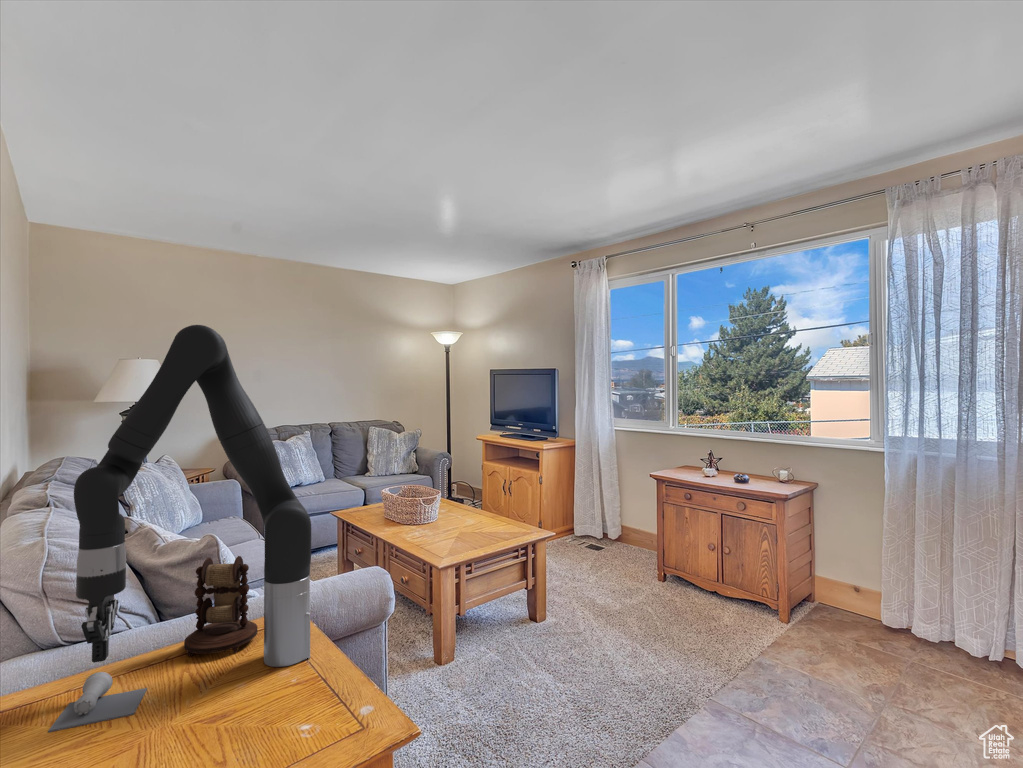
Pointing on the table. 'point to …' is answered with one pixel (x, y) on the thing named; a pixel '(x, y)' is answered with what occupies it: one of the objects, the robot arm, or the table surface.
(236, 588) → the wooden spool holder
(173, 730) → the table surface
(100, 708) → the felt mat
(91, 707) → the rook chess piece
